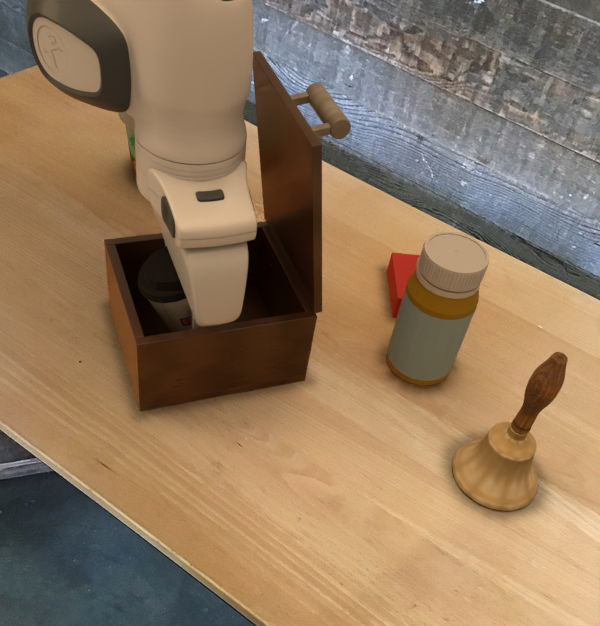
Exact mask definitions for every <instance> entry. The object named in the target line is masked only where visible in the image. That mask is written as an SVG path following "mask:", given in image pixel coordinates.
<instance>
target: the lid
mask: <svg viewBox="0 0 600 626" xmlns="http://www.w3.org/2000/svg"><path fill="white" fill-rule="evenodd" d="M252 78H253V89H254V100H255V102H254V103H255V115H256V126H257V127H256V128H257V140H258V142H257V143H258V153H259V166H260V169H259V170H260V182H261V193H262V195H261V196H262V207H263V218H264V220H265V221H266V222H267V224H268V226H269V228H270V230H271V232H272V234H273V236H274V238H275V239H276V241H277V243H278V245H279V247H280V249H281V251H282V253H283V255H284V257H285V259H286V260H287V262H288V264H289V266H290V268H291V270H292V272H293V274H294V276H295V278H296V280H297V281H298V283H299V285H300V287H301V289H302V291H303V293H304V295H305V297H306V299H307V301H308V302H309V304H310V306H311V308H312V310H313V312H314V314H315V313H316V314H319V313H322V312H323V144H322V142H321V141H320V139H319V138H321V137H325V136H326V137H327V136H331V137H332V138H333V139H335V140H342V139H344V138H346V137H347V136H349V134H350V132H351V130H352V129H351V128H352V125H351V122H350V120H349V119H348V117H347V116H346V115H345V113H344V112H343V110H342V109H341V108H340V106H339V105H338V103H337V102H336V100H335V99H334V98H333V97H332V95H331V93H329V91H328V90H327V88H326V87H325V85H324V84H322V83H320V82H314V83H311V84H310V85H309V86H307V88H306V90H305V91H303V92H299V93H294V94H289V92H288V91H287V89H286V88H285V86H284V84H283V83H282V81H281V80H280V78H279V77H278V75H277V74H276V72H275V71H274V69H273V68H272V66H271V65H270V63H269V62H268V59H266V58H265V56H264V54H263V53H262V51H261V50H257V51H253V64H252ZM306 104H309V105H310V107H311V108H312V110H313V111H314V113H315V114H316V116H317V117H318V119H319V120H320V122H321V123H320V124H316V125H312V126H311V125H310V123H309V122H308V121H307V119H306V118H305V116H304V114H303V113H302V111H301V110H300V109H299V106H302V105H306Z"/></svg>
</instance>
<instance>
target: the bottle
mask: <svg viewBox="0 0 600 626" xmlns="http://www.w3.org/2000/svg"><path fill="white" fill-rule="evenodd" d="M419 255H420V258H419V263H418V265H417V268H416V270H415V271H414V273H413V274H412V275H411V276H410V277H409V280H408V283H407V285H406V289H405V292H404V295H403V299H402V302H401V305H400V309H399V312H398V315H397V317H396V319H395V322H394V326H393V329H392V332H391V335H390V339H389V342H388V345H387V349H386V355H385V356H386V357H385V358H386V362H387V364H388V366H389V368H390V369H391V370H392V372H393V373H394V374H395V375H396V376H397V377H399V378H400V379H401V380H403V381H405V382H407V383H408V384H413V385H417V386H430V385H435V384H438V383H441V382H442V381H444V380H445V379H447V378H448V376H449V375H450V373H451V371H452V369H453V367H454V364H455V361H456V359H457V356H458V354H459V352H460V349H461V347H462V344H463V342H464V340H465V337H466V335H467V332H468V330H469V327H470V324H471V322H472V319H473V317H474V315H475V312H476V309H477V307H478V304H479V300H480V289H479V288H480V286H481V283H482V282H483V280H484V278H485V275H486V272H487V271H488V267H489V264H490V254H489V251H488V249H487V247H485V246H484V245H483V244H482V243H481V242H480V241H479V240H477V239H476V238H474V237H472V236H470V235H467V234H465V233H461V232H458V231H451V230H450V231H449V230H447V231H446V230H445V231H443V230H442V231H438V232H434V233H432V234H430V236H428V237H427V238H426V240H425V241H424V243H423V245H422V248H421V252H420V254H419Z"/></svg>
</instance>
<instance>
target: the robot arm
mask: <svg viewBox="0 0 600 626" xmlns="http://www.w3.org/2000/svg"><path fill="white" fill-rule="evenodd" d="M254 27H255V26H254V9H253V0H26V4H25V29H26V34H27V39H28V43H29V47H30V50H31V53H32V56H33V58H34V62H35V63H36V66H37V68H38V69H39V71H40V72H41V74H42V75H43V77H44V78H45V79H46V81H48V82H49V83H50V84H51V85H52V86H54V87H55V88H56V89H57V90H59V91H60V92H62V93H63V94H65V95H67V96H68V97H70V98H71V99H74V100H77V101H78V102H81V103H84V104H87V105H89V106H92V107H95V108H98V109H101V110H105V111H108V112H112V113H118V112H128V113H129V114H130V115H131V116H132V117H133V118H134V121H135V129H134V132H135V156H136V179H135V180H136V186H137V189H138V191H139V193H140V194H141V195H142V196H143V197H144V199H146V200H147V201H148V202H149V204H150V206H151V209H152V212H153V214H154V217H155V219H156V222H157V225H158V228H159V230H160V233H162V235H163V238H164V241H165V247H166V246H167V248H168V251H169V253H170V256H171V259H172V261H173V264H174V266H175V269H176V272H177V274H178V277H179V279H180V282H181V284H182V287H183V290H184V292H185V295H186V297H187V300H188V303H189V305H190V308H191V309H190V322H191V325H192V327H193V329H197V328H204V327H210V326H213V325H220V324H225V323H229V322H233V321H235V320H236V319H237V318H238V317H239V316H240V314H241V311H242V306H243V300H244V295H245V288H246V281H247V273H248V245H247V241H250V240H254V239H255V237H256V233H257V222H258V219H257V215H256V210H255V207H254V203H253V199H252V195H251V192H250V188H249V182H248V165H247V164H248V163H247V161H246V151H247V139H248V132H247V125H246V121H245V114H244V113H245V106H246V103H247V100H248V98H249V96H250V92H251V89H252V87H251V86H252V78H253V52H254V42H255V41H254V39H255V38H254V37H255V36H254V31H255V29H254Z"/></svg>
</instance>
